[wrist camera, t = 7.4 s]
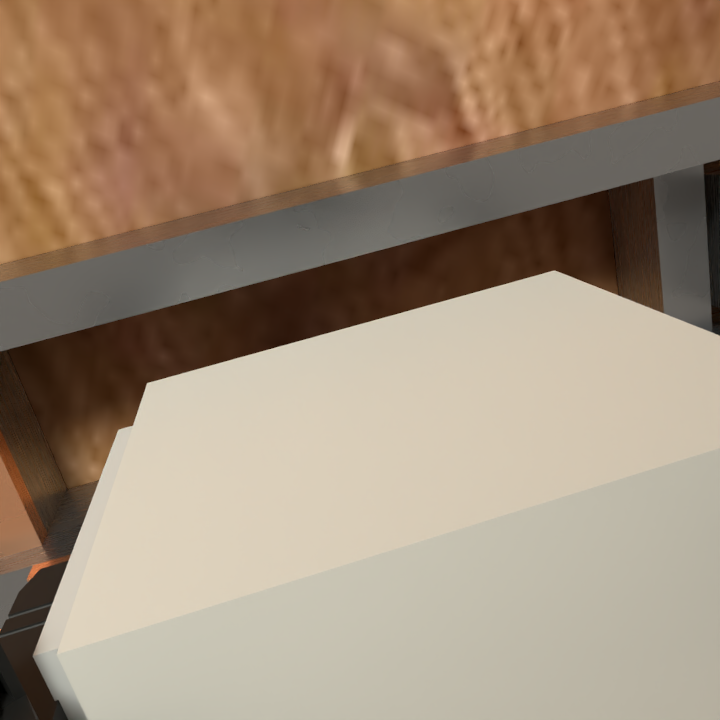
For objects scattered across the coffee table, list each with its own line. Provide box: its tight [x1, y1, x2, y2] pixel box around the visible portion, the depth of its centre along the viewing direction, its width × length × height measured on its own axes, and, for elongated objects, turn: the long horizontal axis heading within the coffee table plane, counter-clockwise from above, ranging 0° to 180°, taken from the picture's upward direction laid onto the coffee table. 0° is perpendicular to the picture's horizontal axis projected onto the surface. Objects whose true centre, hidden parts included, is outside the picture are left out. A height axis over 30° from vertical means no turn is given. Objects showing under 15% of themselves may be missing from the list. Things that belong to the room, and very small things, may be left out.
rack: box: [0, 81, 720, 629], centre depth 19 cm, size 8×35×6 cm, turn 103°
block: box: [56, 270, 720, 720], centre depth 12 cm, size 4×9×8 cm, turn 103°
